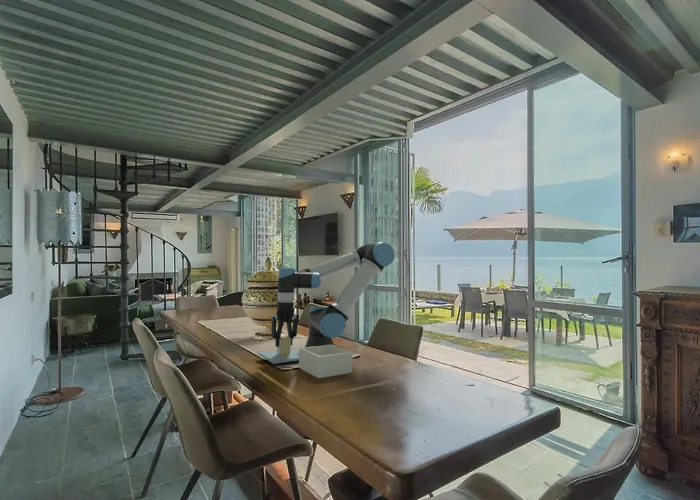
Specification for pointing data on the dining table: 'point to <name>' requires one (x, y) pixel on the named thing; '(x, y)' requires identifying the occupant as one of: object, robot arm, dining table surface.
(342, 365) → the box
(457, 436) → the dining table surface
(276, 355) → the lid
